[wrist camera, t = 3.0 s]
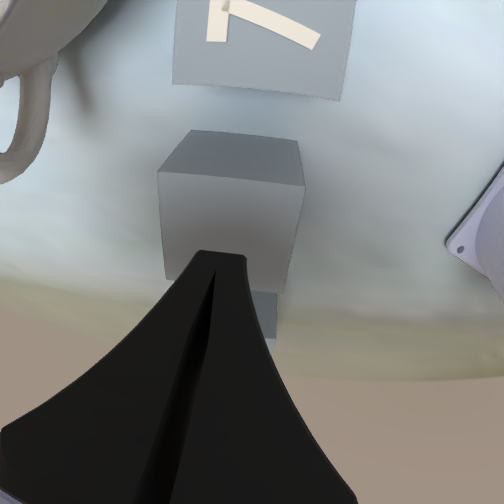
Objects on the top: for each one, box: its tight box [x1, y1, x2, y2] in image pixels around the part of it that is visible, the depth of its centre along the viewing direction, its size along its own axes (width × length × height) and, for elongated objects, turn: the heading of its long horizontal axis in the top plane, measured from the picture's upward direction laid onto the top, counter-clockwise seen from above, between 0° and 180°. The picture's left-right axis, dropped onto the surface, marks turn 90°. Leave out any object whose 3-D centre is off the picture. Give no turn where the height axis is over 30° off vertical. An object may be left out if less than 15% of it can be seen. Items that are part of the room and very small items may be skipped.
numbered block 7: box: [172, 0, 356, 102], centre depth 8 cm, size 4×4×5 cm
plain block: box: [157, 130, 306, 294], centre depth 12 cm, size 4×4×4 cm
